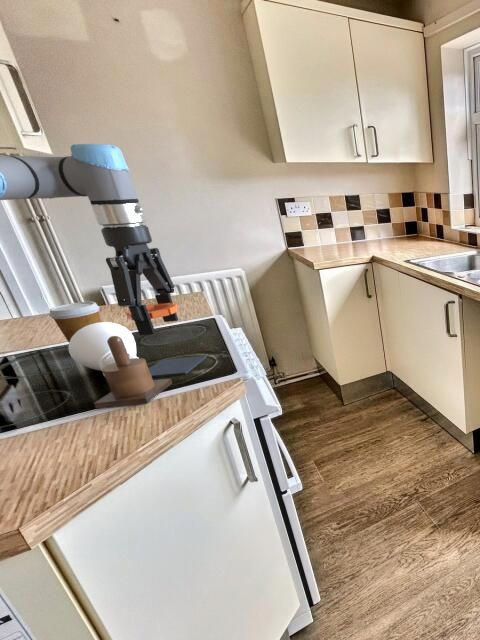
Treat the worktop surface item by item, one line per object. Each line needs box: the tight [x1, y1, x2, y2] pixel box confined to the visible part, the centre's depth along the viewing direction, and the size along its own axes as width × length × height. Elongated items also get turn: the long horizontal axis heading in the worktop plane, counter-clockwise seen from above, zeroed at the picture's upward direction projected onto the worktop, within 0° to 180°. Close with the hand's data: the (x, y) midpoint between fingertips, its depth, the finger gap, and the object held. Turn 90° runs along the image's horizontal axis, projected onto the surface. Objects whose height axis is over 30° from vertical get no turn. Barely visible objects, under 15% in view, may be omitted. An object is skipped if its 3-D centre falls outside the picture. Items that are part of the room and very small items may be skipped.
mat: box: [148, 355, 208, 379], centre depth 100 cm, size 10×10×1 cm
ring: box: [125, 302, 180, 321], centre depth 95 cm, size 9×9×1 cm
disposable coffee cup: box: [48, 301, 102, 343], centre depth 111 cm, size 10×10×12 cm
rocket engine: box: [67, 321, 139, 377], centre depth 95 cm, size 12×12×18 cm
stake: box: [93, 336, 173, 410], centre depth 85 cm, size 9×9×13 cm
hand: (160, 327), depth 96 cm, fingers closed on ring, 9 cm apart
